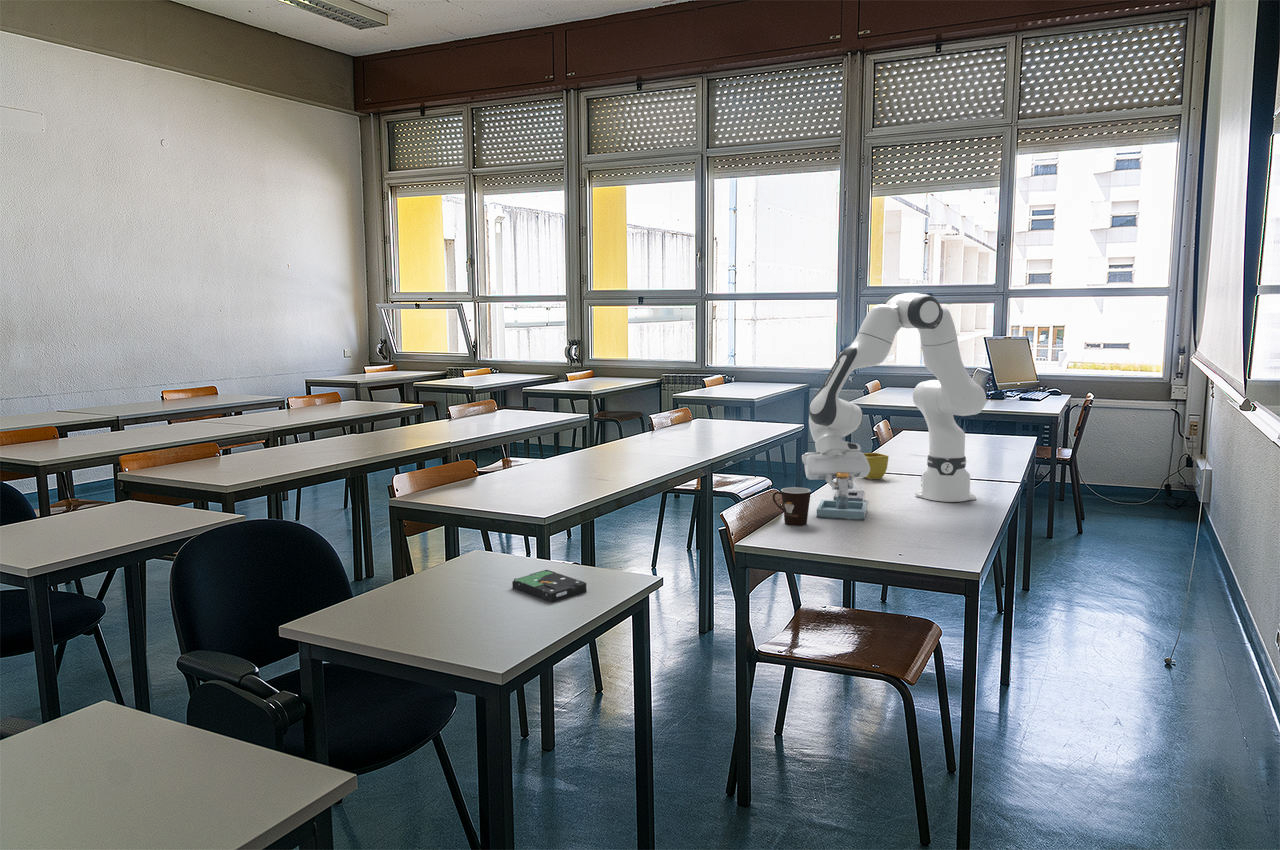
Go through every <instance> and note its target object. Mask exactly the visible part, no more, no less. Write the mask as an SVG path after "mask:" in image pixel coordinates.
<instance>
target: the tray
mask: <svg viewBox="0 0 1280 850" xmlns="http://www.w3.org/2000/svg"><path fill="white" fill-rule="evenodd" d="M867 505H868V502H867V501H864V502H854V501H848V509H844V510H843V509H837V508H836V501H834V499H833V500H831V499H821V500H820V502H819V504H818V507H817V508H816V518H817V517H827V518H826V519H834V518H847V519H846V520H852V519H864V518H866V515H865V514H867V511H866V510H868V509H867V508H868V506H867ZM848 518H849V519H848ZM864 520H865V519H864Z"/></svg>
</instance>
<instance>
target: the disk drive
mask: <svg viewBox="0 0 1280 850" xmlns="http://www.w3.org/2000/svg"><path fill="white" fill-rule="evenodd" d="M511 582H512V584H511V586H512V589H514V590H517V591H519V592H522V593H524V594H527V595H530V596H533V597H535V598H538V599H540V600H543V601H546V602H549V603H555V602H558V601H562V600H565V599H569V598H571V597H575V596H578V595H581V594H585V593H587V592H588V591H587V590H588V589H587V582H585V581H582V580H579V579H576V578H573V577H570V576H567V575H565V574H562V573H558V572H555V571H552V570H549V569H544V570H541V571H537V572H532V573H529V574H527V575H524V576H522V577H518V578H516V577H515V578H513V581H511Z"/></svg>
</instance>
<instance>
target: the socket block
mask: <svg viewBox="0 0 1280 850" xmlns="http://www.w3.org/2000/svg"><path fill="white" fill-rule="evenodd" d="M865 493H866V491H865V490H855V489H854V490H853V489H848V501H854V502H865V498H866V497H865V496H866V494H865ZM833 500H834V501H836V492H835V494H834V495H833Z"/></svg>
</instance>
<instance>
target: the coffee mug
mask: <svg viewBox="0 0 1280 850" xmlns="http://www.w3.org/2000/svg"><path fill="white" fill-rule="evenodd" d="M811 491H812V490H811V489H809V488H806V487H784V488H782V489H781V490H780V491H775V492H774V493H773V494H772V500H773V502H774V505H776V506H777V507H778V509H780V510H781V511H782V512H783V518H784V519H783V520H784V524H785V525H787V526H789V527H803V525H804V526H807V524H808V517H809V516H808V515H809V507H810V502H811V501H810V499H811V494H812V493H811ZM776 495H780V496H781V500H782V501H781V502H782V506H781V505H780V504H779V503H778V502H777V500H776V499H775V497H776Z"/></svg>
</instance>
